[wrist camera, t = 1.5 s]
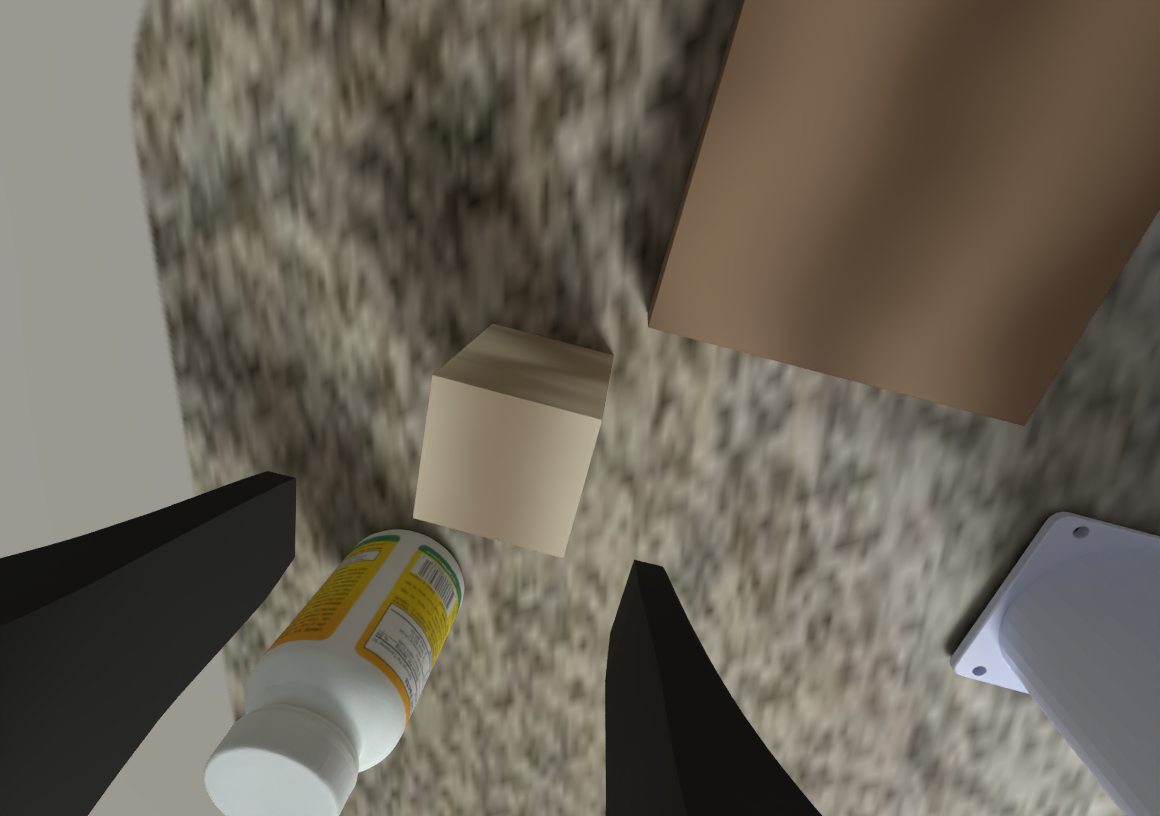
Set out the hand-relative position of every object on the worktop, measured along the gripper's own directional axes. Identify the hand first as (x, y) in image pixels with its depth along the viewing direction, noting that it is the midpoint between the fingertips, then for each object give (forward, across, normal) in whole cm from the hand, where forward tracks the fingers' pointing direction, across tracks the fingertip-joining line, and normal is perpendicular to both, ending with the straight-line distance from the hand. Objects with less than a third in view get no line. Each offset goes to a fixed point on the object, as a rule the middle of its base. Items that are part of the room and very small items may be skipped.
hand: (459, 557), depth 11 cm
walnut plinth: (+10, -9, -10) cm, 17 cm away
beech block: (+10, 0, 0) cm, 10 cm away
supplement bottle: (+10, +4, +10) cm, 15 cm away
